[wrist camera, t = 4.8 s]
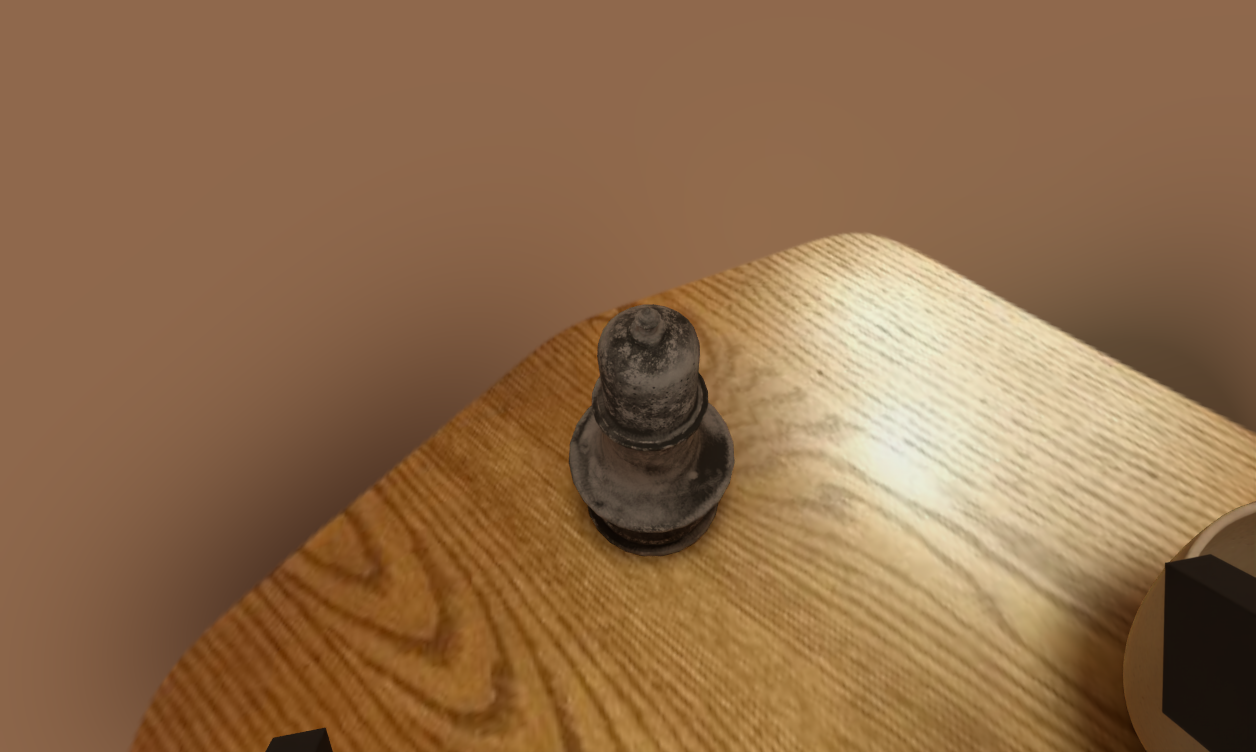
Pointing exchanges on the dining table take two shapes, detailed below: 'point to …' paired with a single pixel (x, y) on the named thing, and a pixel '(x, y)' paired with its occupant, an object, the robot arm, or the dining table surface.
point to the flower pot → (1237, 538)
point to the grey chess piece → (651, 437)
